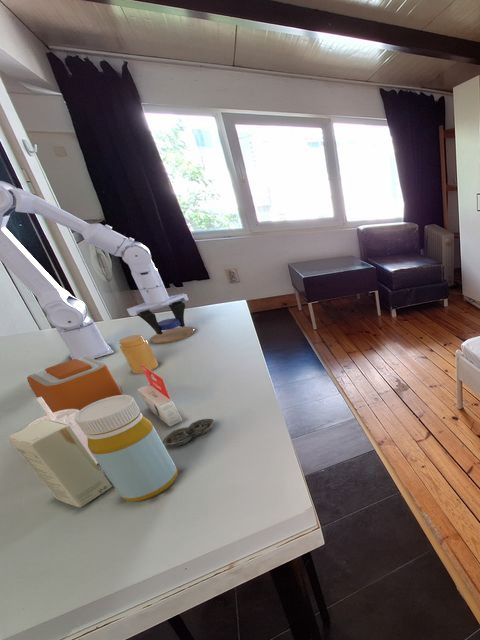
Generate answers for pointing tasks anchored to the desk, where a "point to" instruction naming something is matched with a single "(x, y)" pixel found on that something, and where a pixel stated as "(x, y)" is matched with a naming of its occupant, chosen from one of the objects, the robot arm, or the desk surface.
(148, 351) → the jar
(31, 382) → the alarm clock
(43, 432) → the cosmetic box
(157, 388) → the ink cartridge box
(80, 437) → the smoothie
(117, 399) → the bottle
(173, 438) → the corroded twin loop
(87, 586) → the desk surface
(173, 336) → the coaster
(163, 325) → the lid
